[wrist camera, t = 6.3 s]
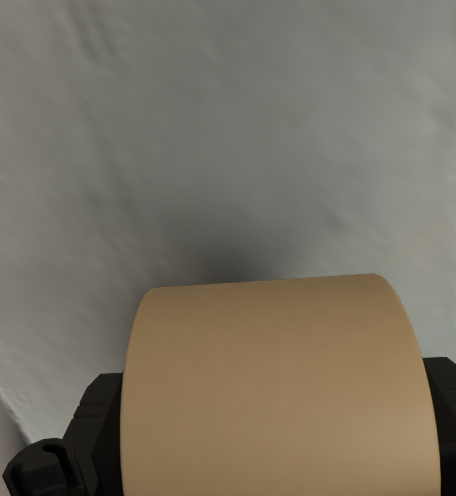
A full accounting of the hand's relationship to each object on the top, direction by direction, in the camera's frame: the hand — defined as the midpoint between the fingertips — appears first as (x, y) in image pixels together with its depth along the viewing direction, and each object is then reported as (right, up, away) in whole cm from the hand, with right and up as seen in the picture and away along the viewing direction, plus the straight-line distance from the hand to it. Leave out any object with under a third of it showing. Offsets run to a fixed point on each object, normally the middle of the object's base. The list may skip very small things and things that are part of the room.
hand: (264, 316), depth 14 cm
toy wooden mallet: (0, -3, +2) cm, 4 cm away
